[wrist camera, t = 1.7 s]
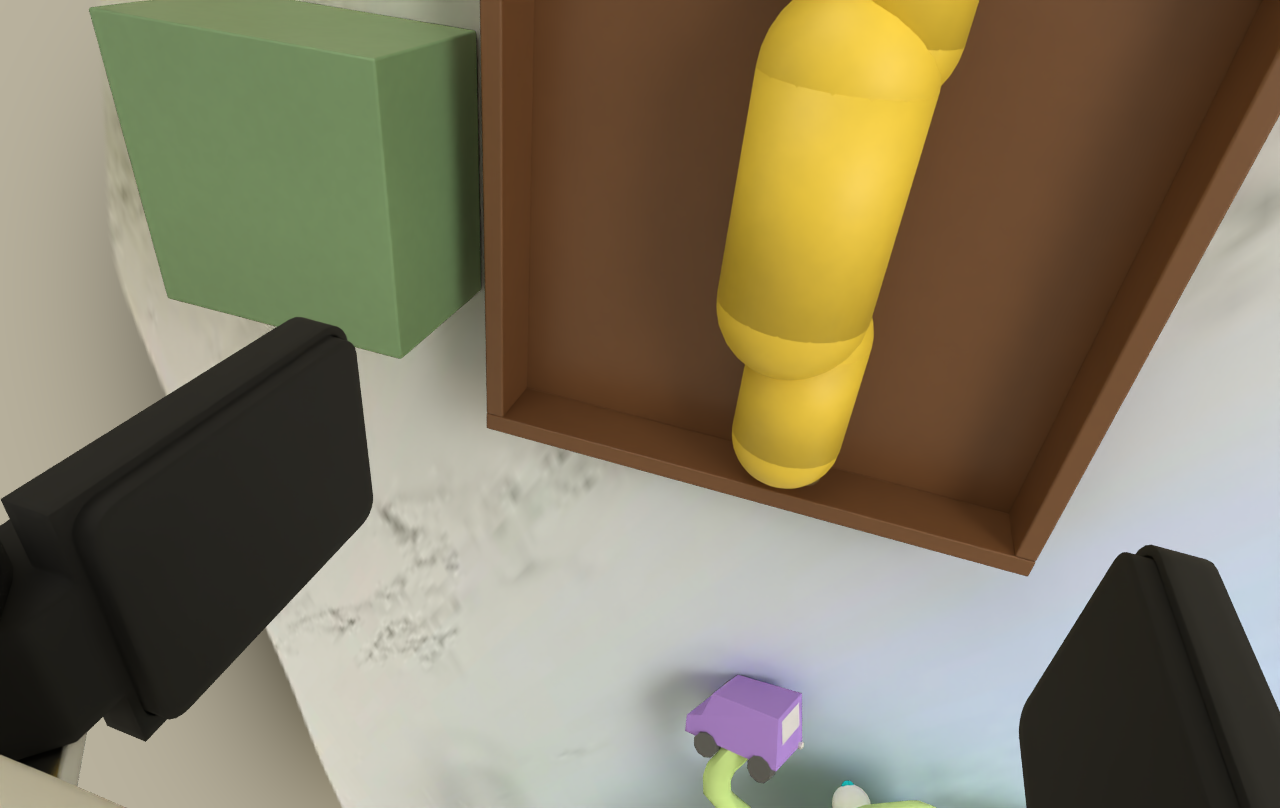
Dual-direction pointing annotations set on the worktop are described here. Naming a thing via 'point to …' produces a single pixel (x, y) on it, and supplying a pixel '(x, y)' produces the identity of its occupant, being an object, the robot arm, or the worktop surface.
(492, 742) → the worktop surface
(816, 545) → the worktop surface
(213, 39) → the block
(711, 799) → the figurine
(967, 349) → the tray
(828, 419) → the yellow stacked capsules
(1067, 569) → the worktop surface
